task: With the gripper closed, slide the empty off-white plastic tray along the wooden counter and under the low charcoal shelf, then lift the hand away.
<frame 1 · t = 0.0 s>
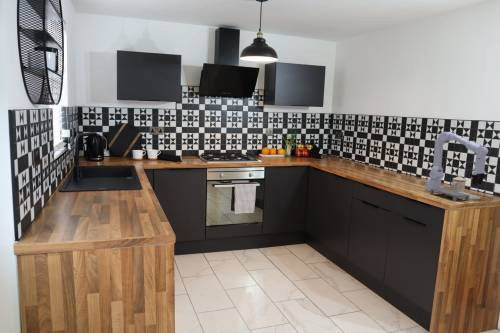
hand: (477, 184, 263), 10 cm above the table, tool pointing down, fingers open, 7 cm apart
teacup with lid: (456, 191, 291), on the table
tray: (464, 197, 270), on the table
shelf: (448, 197, 266), on the table
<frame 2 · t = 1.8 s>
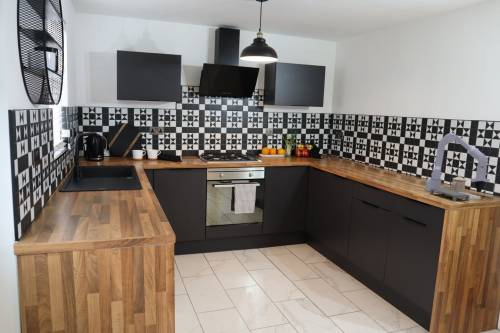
hand: (478, 191, 272), 4 cm above the table, tool pointing down, fingers closed
nothing on the table moved.
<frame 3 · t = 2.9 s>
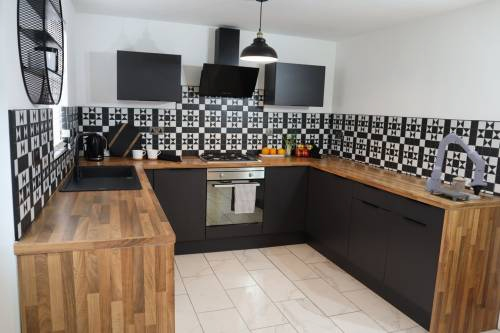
hand: (476, 195, 272), 1 cm above the table, tool pointing down, fingers closed
nothing on the table moved.
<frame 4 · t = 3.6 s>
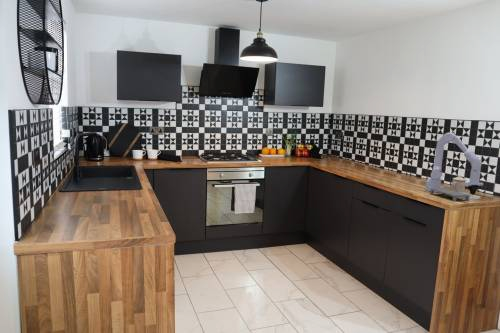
hand: (472, 195, 271), 1 cm above the table, tool pointing down, fingers closed
tray: (464, 197, 269), on the table, touching gripper
everything else where it was.
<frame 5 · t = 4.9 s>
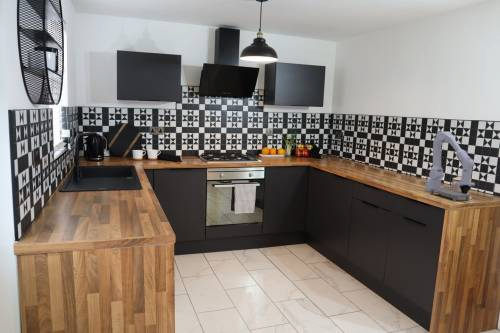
hand: (463, 195, 269), 1 cm above the table, tool pointing down, fingers closed
tray: (455, 197, 267), on the table, touching gripper
everything else where it was.
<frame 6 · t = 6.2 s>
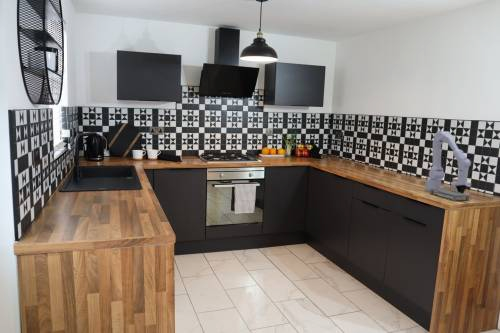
hand: (460, 196, 268), 1 cm above the table, tool pointing down, fingers closed
tray: (452, 197, 266), on the table, touching gripper
everything else where it was.
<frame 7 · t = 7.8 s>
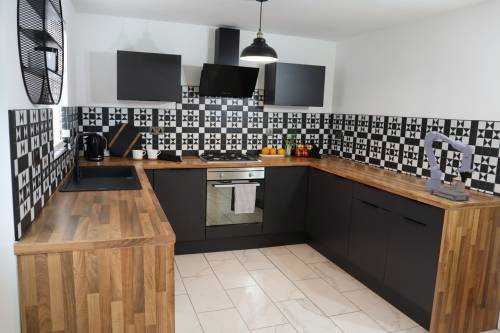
hand: (463, 182, 274), 9 cm above the table, tool pointing down, fingers closed
tray: (452, 197, 266), on the table
everything else where it was.
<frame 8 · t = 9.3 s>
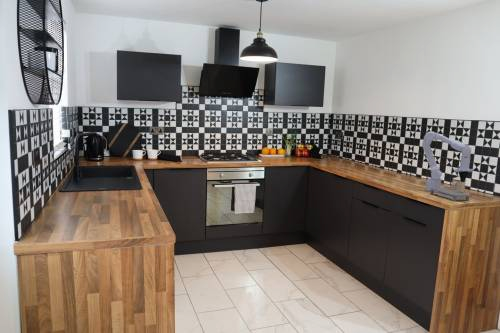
hand: (462, 181, 276), 9 cm above the table, tool pointing down, fingers closed
nothing on the table moved.
at the end: tray inside the target area on the shelf (2.6 cm from its centre), point 0.0 cm above the shelf's base; tray tilted 0° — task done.
